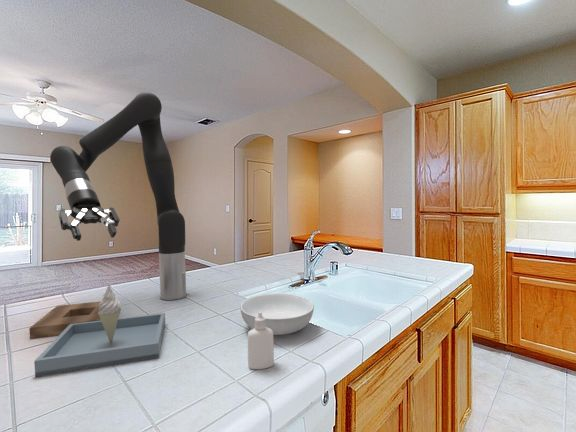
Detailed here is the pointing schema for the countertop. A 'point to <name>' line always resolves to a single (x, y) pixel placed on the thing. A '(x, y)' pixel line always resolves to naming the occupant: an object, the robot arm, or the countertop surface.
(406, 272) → the countertop surface
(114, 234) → the robot arm
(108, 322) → the ice cream cone
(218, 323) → the countertop surface
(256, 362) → the eye dropper bottle
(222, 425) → the countertop surface
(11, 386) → the countertop surface
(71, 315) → the walnut board
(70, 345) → the slate blue tray
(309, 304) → the serving bowl
